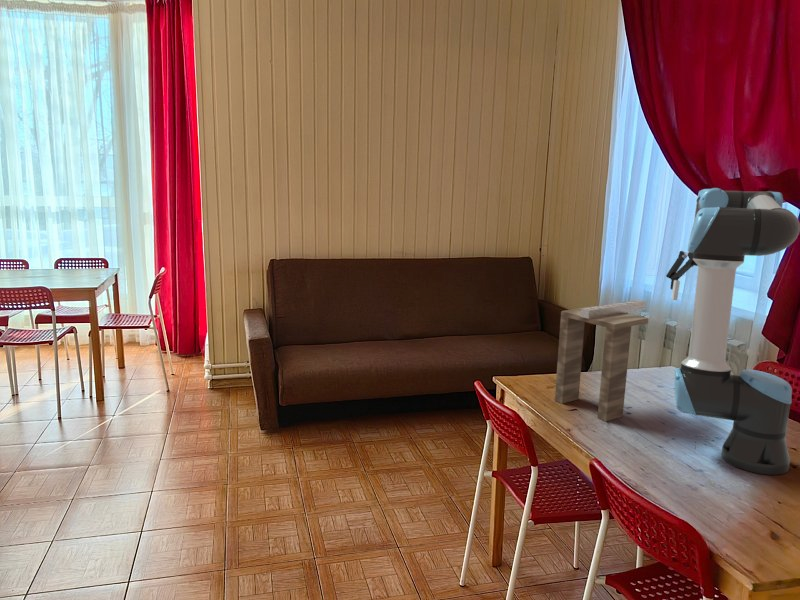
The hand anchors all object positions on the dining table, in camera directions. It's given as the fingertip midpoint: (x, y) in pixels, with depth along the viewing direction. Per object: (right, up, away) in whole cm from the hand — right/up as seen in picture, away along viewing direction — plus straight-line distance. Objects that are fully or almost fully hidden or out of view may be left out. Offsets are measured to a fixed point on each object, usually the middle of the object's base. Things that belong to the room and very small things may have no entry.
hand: (694, 302), depth 196 cm
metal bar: (-29, -3, -8) cm, 30 cm away
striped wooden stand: (-34, -33, -4) cm, 47 cm away
